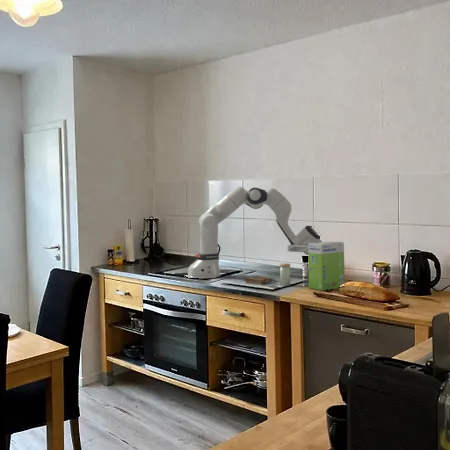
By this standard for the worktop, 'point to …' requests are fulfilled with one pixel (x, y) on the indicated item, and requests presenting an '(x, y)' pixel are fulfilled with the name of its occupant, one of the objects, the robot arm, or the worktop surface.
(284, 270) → the spice jar
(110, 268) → the worktop surface
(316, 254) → the toothbrush box
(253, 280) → the walnut base
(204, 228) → the robot arm
